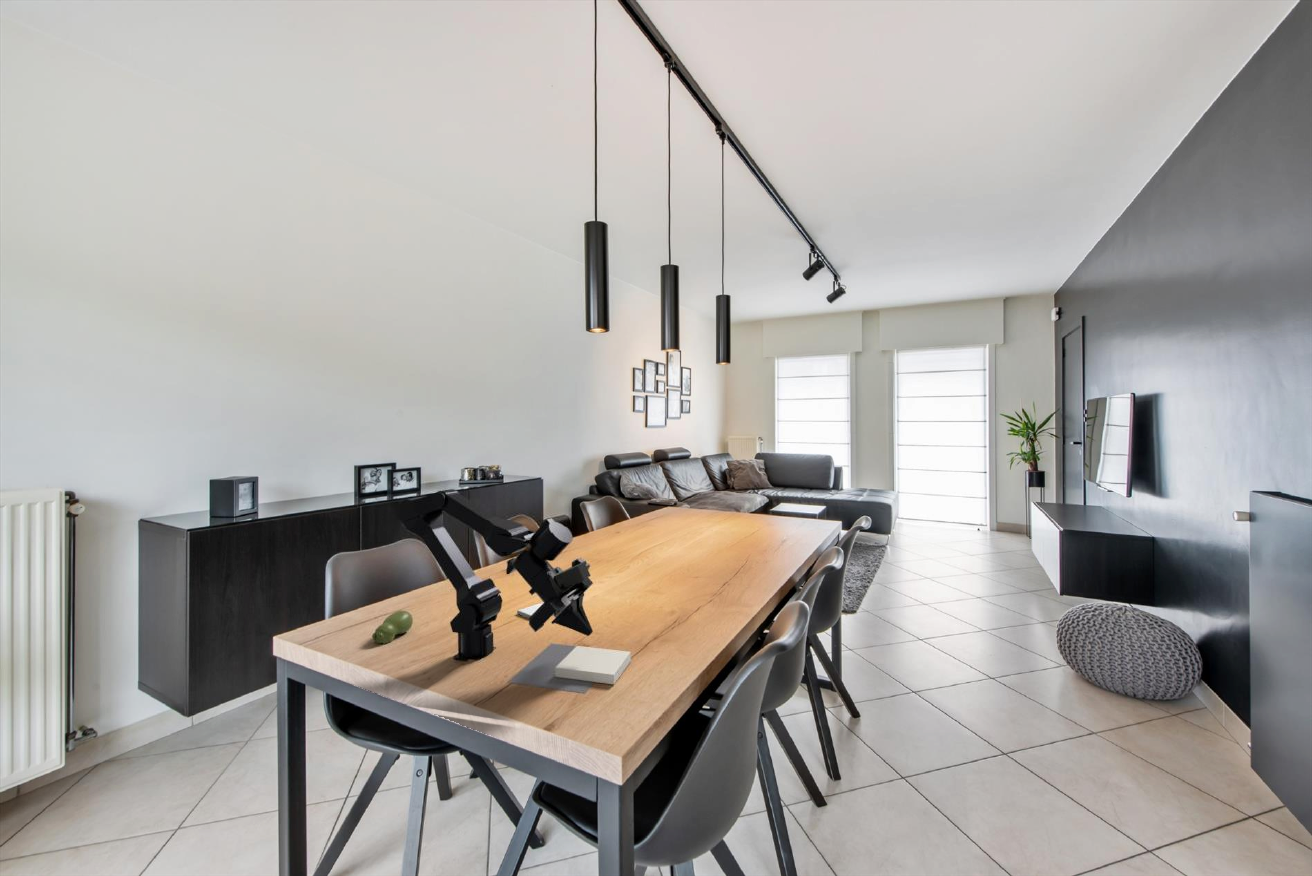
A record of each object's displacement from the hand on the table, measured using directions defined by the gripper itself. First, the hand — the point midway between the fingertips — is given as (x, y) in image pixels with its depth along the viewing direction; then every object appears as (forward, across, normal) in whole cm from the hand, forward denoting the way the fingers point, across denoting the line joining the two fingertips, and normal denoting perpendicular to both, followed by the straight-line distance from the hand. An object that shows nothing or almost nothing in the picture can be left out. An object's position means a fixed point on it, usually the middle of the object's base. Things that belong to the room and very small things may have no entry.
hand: (590, 633), depth 99 cm
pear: (-32, +5, +43) cm, 53 cm away
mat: (+2, 0, +9) cm, 9 cm away
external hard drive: (-12, +29, +24) cm, 39 cm away
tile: (0, 0, +8) cm, 8 cm away
